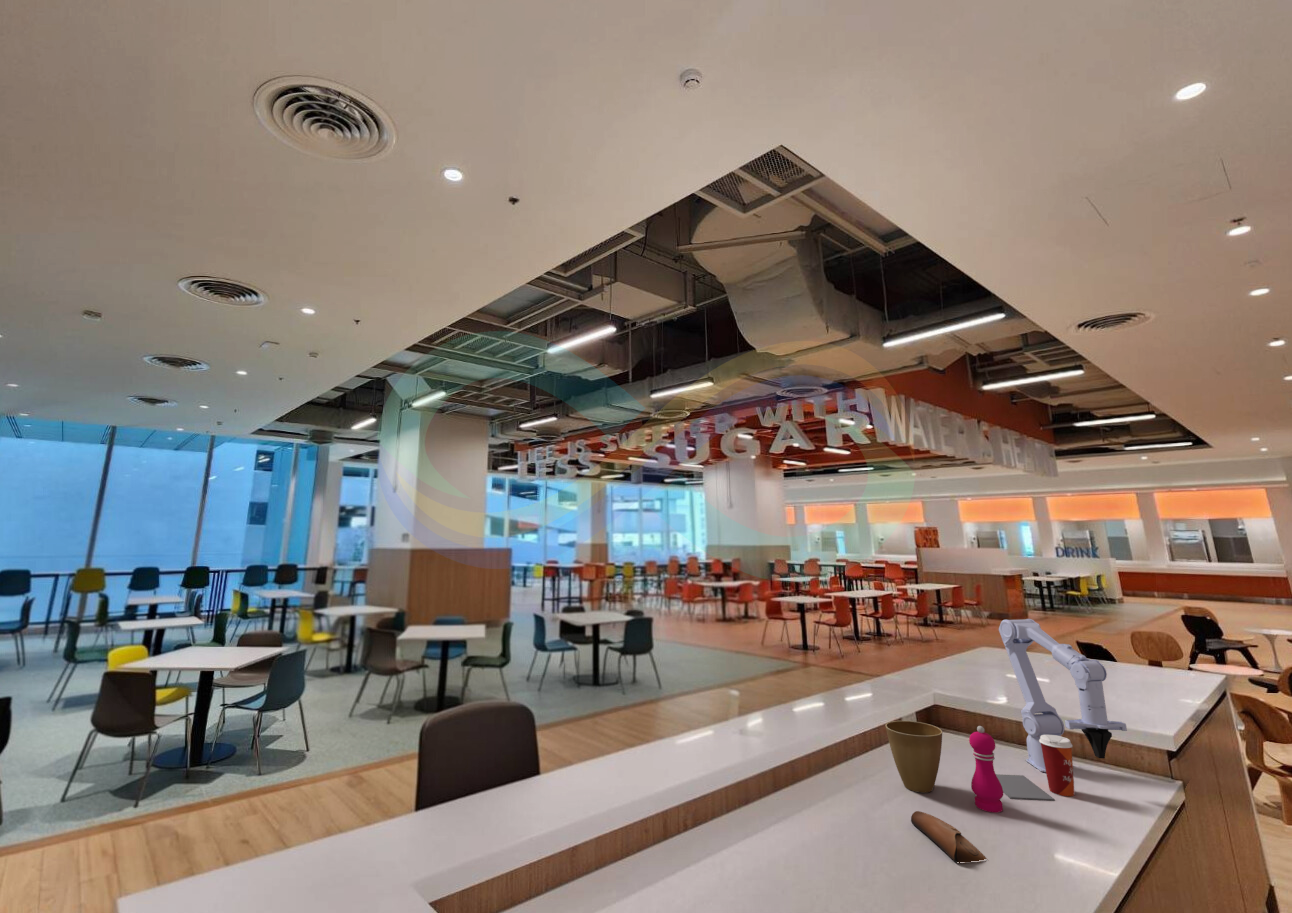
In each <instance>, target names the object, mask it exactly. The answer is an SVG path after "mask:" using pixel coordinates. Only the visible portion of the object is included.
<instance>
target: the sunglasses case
mask: <svg viewBox="0 0 1292 913" xmlns="http://www.w3.org/2000/svg"><path fill="white" fill-rule="evenodd" d="M910 822H911V823H912V825H913V826H914V827H915V828H917V829H918V830H920V831H921V832H922V833H923V834H925V835H926V836H927V837H928V838H929V839H930V840H931V841H932V842H934V843H935V844H936V845H937V846H938V847H939V848H940V849H941V850H942V851H944V852H945V854H947V856H949V857H950V858H951V859H952V860H953V861H955V863H957V862H959V863H960V862H971V861H979V860H984V859H987V860H988V858H987V857H986V856H985V855H984V854H983V853H982V851H980V850H979V849H978V847H976V846H975V845H974V844H973V843H972V842H970V841H969V839H967V838H966V837H965V836H963V835H962V832H961V831H960V830H959V829H957V828H956V827H954V826H953V825H952V824H949V823H947V822H945V821H944V820H942V819H940V818H938V817H936V816H934V815H931V814H929V813H927V812H923V811H919V810H917V811H916V810H915V811H914V812H913V813H912V815H911V816H910Z"/></svg>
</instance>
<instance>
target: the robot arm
mask: <svg viewBox="0 0 1292 913" xmlns="http://www.w3.org/2000/svg"><path fill="white" fill-rule="evenodd" d="M998 632H999V634H1000V637H1001V641H1002V643H1003V645H1004V648H1005V651H1006V654H1007V656H1008V659H1009V661H1010V664H1011V667H1012V669H1013V672H1014V675H1015V677H1016V680H1017V683H1018V686H1019V688H1020V691H1021V694H1022V697H1023V699H1024V702H1025V705H1024V707H1022V709H1021V710H1020V714H1021V717H1022V726H1023V729H1024V730H1025V732H1026V734H1028V735H1027V737H1026V748H1027V749H1026V750H1027V755H1028V756H1027V758H1025V761H1026V762H1028V764H1030V765H1031V766H1033V767H1034V768H1036V769H1037V770H1039V771H1040V772H1041V773H1046V769H1045V764H1044V758H1043V753H1042V747H1041V743H1040V742H1039V740H1040V736H1041V735H1057V736H1062V735H1064V733H1065V729H1069V730H1074V729H1075V730H1081V732H1082V733H1083V734H1084V736H1085V737H1086V739H1087V741H1088V742H1089V745H1090V746H1091V748H1092V751H1093V754H1094V756H1095V757H1096V758H1098V759H1106V753H1107V752H1106V751H1107V748H1108V745H1109V742H1110V740H1111V738H1112V737H1113V735H1112V732H1111V731H1122V732H1127V731H1128V729H1127V724H1126V723H1125V722H1124V721H1123V722H1122V721H1113V720H1108V714H1107V713H1108V712H1107V707H1106V698H1105V693H1104V684H1103V682H1104V681H1105V680H1106V679H1107V675H1108V673H1107V670H1106V668H1105V665H1103V664H1102V663H1101V662H1100V661H1099V660H1098V659H1090V658H1087V657H1086V655H1084V654H1081V653H1080V652H1078V651H1077V650H1076V649H1074V648H1073V646H1072V645H1070V644H1069V643H1068V644H1067V643H1059V642H1058V641H1056V640H1055V639H1054V638H1053V637H1052V636H1050V634H1048V633H1047V632H1046V631H1044V630H1043V629H1042V628H1041V624H1039V623H1038V622H1036V621H1035V620H1034V619H1031V618H1026V619H1025V618H1024V619H1003V620H1002V621H1000V624H999V627H998ZM1033 643H1036V644H1038V645H1040V646H1041V647H1042V648H1044V649H1046V651H1048V652H1051V656H1052V659H1053V660H1055V661H1056V662H1058V663H1059V664H1061V665H1062V666H1063V667H1064V668H1066V669H1067V670H1068V671H1069V673H1070V675H1071V677H1072V678H1073V679H1074V685H1075V686H1076V688H1077V691H1078V699H1079V707H1080V713H1081V714H1080V715H1081V718H1079V719H1065V720H1064V721H1063V719H1062V718H1061V717H1060V715H1059V714H1058V712H1057V709H1056V708H1055V707H1054V706H1052V705H1050V704H1049V703H1048V702H1046V699H1045V696H1044V694H1043V691H1042V689H1041V685H1040V684H1039V681H1038V679H1037V676H1036V674H1035V671H1034V668H1033V666H1032V663H1031V661H1030V658H1029V656H1028V653H1027V649H1028V647H1030V646H1031V645H1032V644H1033ZM1037 713H1038V714H1037Z"/></svg>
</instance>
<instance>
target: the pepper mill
mask: <svg viewBox="0 0 1292 913" xmlns="http://www.w3.org/2000/svg"><path fill="white" fill-rule="evenodd" d="M976 730H977V731H973V732H972V733H971V734H970V735H969V739H968V740H969V741H968V742H969V745H970V747H971V748H972V751H971V752H972V756H973V758H974V760H975V770H974V773H973V775H972V778H971V784H970V786H971V787H970V788H971V790H972V792H973V794H974V795H975V797H974V805H975V807H976V808H978V809H980V810H982V811H984V812H988V813H996V814H997V813H1001V812H1003V810H1004V807H1003V801H1002V800H1001V799H1002V798H1003V797H1004V793H1003V789H1002V786H1001V783H1000V782H999V780H998V778H997V776H996V774H997V773H996V770H995V769H994V761H995V753H994V751H995V750H996V741H995V739H994V738H993V737H992V735H990V734H989V733H988V732H985V728H984V726H981V725H978V726H977V727H976Z"/></svg>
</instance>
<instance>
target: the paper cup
mask: <svg viewBox="0 0 1292 913" xmlns="http://www.w3.org/2000/svg"><path fill="white" fill-rule="evenodd" d="M1039 742H1040V743H1041V747H1042V753H1043V758H1044V764H1045V769H1046V772H1045V774H1046V779H1047V784H1048V789H1049V792H1051V793H1053V794H1054V795H1058V796H1061V797H1074V796H1075V781H1074V780H1075V778H1074V766H1073V752H1072V751H1073V749H1072V748H1073V746H1074V745H1073V744H1072V743H1071V740H1070V739H1069V738H1067V737H1063V736H1062V735H1061V736H1057V735H1041V736H1040V740H1039Z"/></svg>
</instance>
